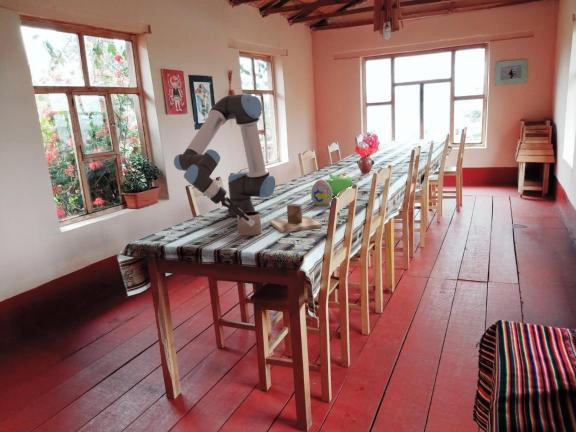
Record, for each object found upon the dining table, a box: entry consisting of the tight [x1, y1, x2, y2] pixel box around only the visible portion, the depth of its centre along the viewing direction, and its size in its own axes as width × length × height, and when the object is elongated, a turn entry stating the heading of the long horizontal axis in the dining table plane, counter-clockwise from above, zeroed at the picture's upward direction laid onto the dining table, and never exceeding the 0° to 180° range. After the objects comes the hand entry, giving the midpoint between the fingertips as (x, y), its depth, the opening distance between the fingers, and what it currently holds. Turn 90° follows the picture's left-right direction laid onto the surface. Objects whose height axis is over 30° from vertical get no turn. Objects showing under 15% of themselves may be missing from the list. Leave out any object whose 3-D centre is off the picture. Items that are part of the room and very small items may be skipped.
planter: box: [236, 210, 262, 237], centre depth 213 cm, size 11×11×10 cm
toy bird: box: [324, 172, 355, 197], centre depth 290 cm, size 18×17×15 cm
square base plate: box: [269, 203, 323, 233], centre depth 223 cm, size 20×20×10 cm
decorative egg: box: [310, 179, 333, 207], centre depth 268 cm, size 12×12×15 cm
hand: (249, 221), depth 212 cm, fingers open, 13 cm apart
